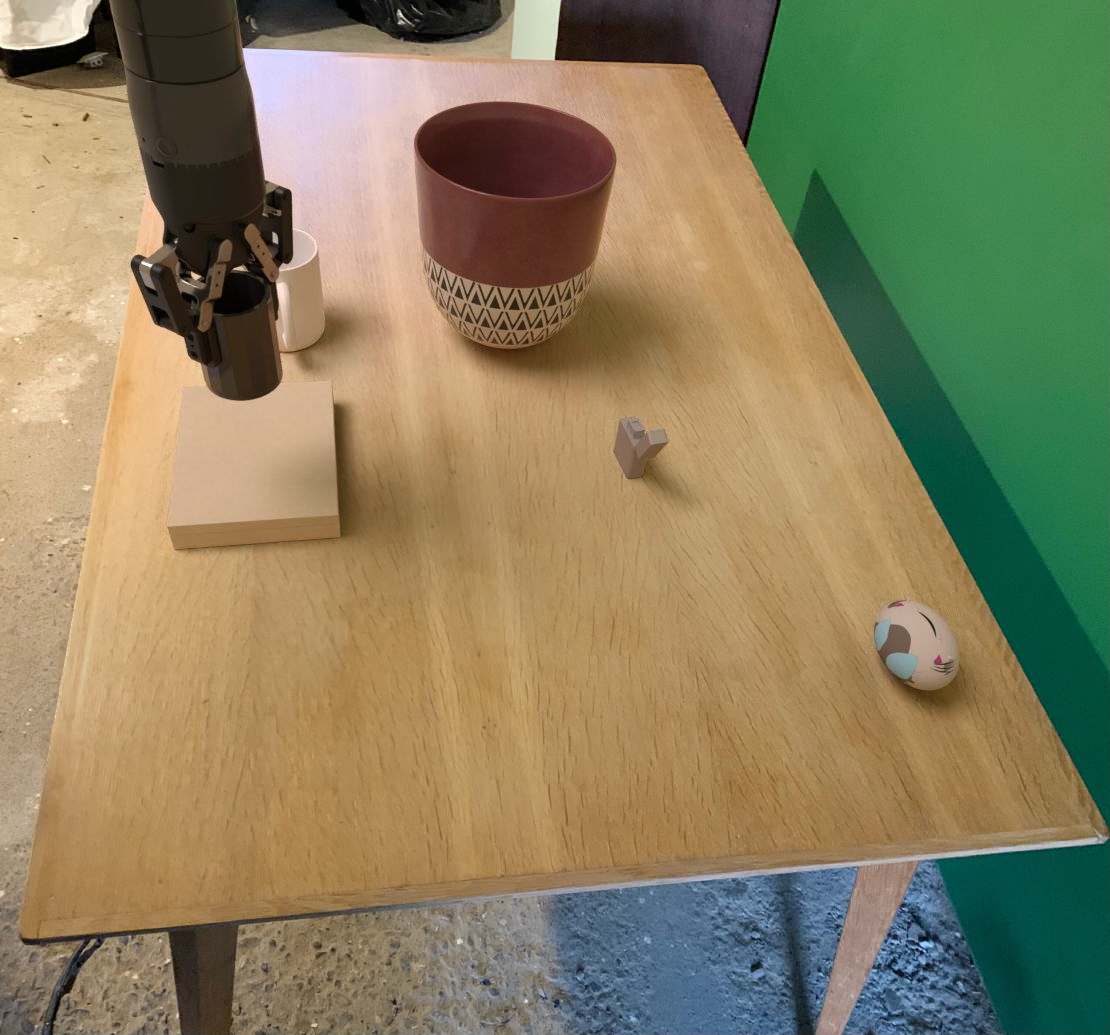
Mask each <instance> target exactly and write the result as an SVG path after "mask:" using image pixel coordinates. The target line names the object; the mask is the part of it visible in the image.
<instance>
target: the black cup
mask: <svg viewBox="0 0 1110 1035" xmlns="http://www.w3.org/2000/svg"><path fill="white" fill-rule="evenodd" d="M196 280H197V281H199V282H201V283H203V284H206V278H204V277H202V276H200V277H198V278H197V279H196ZM197 303H198V300H197V298H196V297H195V296H193V297H192V304H191V308H193V309H195V310H196V309H197ZM211 325H214V328H215V332H216V337H217V342H218V347H219V352H220V357H221V364H219V365H218V366H217V367H215V368H214V369H212V368H209V367H207V366H205V365H203V364H201V363H200V367H201V370H202V375H203V380H204V382H205V386H207V387H208V389H209V390H210V391H211V392H212V393H214V394H215V395H217V396H219V397H221V398H224V399H227V400H233V401H248V400H254V399H258V398H261V397H263V396H265V395H267V394H269V393H271V392H272V391H274V390H275V389H276V388H277V387H278V386H279V384H280V383H282V380H283V378H284V377H283V374H284V373H283V364H282V357H281V352H280V350H279V343H278V336H277V329H276V322H275V315H274V308H273V302H272V295H271V289H270V285H269V284H268V283H267V282H266V281H265V280H264V279H263V278H262V277H261V276H258V275H256V274H254V273H251V272H248V271H241V270H236V269H233V270H232V271H231V272H230V273H229V274H228V275H227V276H226V277H225V278H224V284H223V290H222V296H221V298H220V299H219V300H216V301H215V303H214V309H213V316H212V322H211Z"/></svg>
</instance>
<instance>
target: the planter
mask: <svg viewBox="0 0 1110 1035" xmlns="http://www.w3.org/2000/svg"><path fill="white" fill-rule="evenodd" d="M413 156H414V157H413V158H414V176H415V186H416V199H417V217H418V229H419V231H418V232H419V242H420V253H421V254H420V255H421V264H422V271H423V275H424V279H425V283H426V286H427V289H428V292H429V294H430V298H431V299H432V301H433V303H434V305H435V308H436V309H437V310H438V312H439V314H440V315H441V316H442V317H443V318H444V320H446V322H447V323H448V324H449V325H450V326H451V327H452V328H454V329H455V330H456V331H457V332H458V333H460V334H461V335H463V336H464V337H466V338H468V339H469V340H471V341H473V342H476V343H478V344H481V345H483V346H486V347H490V348H494V349H502V350H515V349H523V348H527V347H532V346H534V345H537V344H539V343H543V342H544V341H546V340H548V339H550V338H551V337H553V336H555V335H556V334H558V333H559V332H560V331H562V330H563V329H564V328H565V327H566V326H567V325H569V323H570V322H571V321H572V320H573V318H575V316H576V314H577V313H578V311H579V310H580V308H581V306H582V304H583V302H584V300H585V299H586V296H587V293H588V291H589V289H590V286H591V283H592V280H593V276H594V271H595V268H596V262H597V258H598V253H599V250H600V245H601V240H602V236H603V230H604V225H605V220H606V217H607V212H608V206H609V202H610V198H611V193H612V189H613V184H614V178H615V173H616V167H617V159H618V158H617V153H616V150H615V147H614V145H613V143H612V142H611V140H610V139H609V138H608V137H607V136H606V135H605V134H604V133H603V132H602V131H601V130H600V129H599V128H597V127H595V126H594V125H593V124H591V123H589V122H587V121H586V120H584V119H582V118H580V117H578V116H576V115H573V114H570V113H568V112H565V111H562V110H559V109H557V108H553V107H548V106H545V105H540V104H534V103H528V102H519V101H503V100H501V101H479V102H472V103H465V104H461V105H457V106H453V107H450V108H447V109H445V110H442V111H440V112H438V113H436V114H433V115H432V116H431V117H429V118H428V119H427V120H425V121H424V122H423V123H422V124H421V125H420V126H419V128H418V129H417V130H416V133H415V135H414V139H413Z"/></svg>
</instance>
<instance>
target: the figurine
mask: <svg viewBox="0 0 1110 1035" xmlns="http://www.w3.org/2000/svg"><path fill="white" fill-rule="evenodd" d="M875 618H876V619H875V622H874V627H873V639H874V645H875V649H876V651H877V653H878V656H879V659H881V661H882V663H883V664H884V666H885V667H886V669H887V670H888V672H889V673H890V675H893V676H894V677H895V678H896V679H898V680H899V681H900V682H902V683H903V684H905V685H907V686H909V687H911V688H914V689H917V690H921V691H935V690H936V691H937V690H940V689H942V688H945V687H946V686H947V685H950V683H951V682H952V681H953V680H954V679H955V677H956V675H957V673H958V671H959V669H960V661H961V653H960V647H959V644H958V641H957V638H956V635H955V633H954V632H953V629H952V628H951V627H950V624H948V623H947V621H946V620H945V619H944V618H943V617H942V616H941V615H940V614H939V612H937V611H936V610H935V609H933V608H931V607H929V606H928V605H926V604H925V603H921V602H919V601H916V600H910V597H909V596H907V597H906V599H901V600H900V599H899V600H895V601H892V602H890V603H888V604H886V606H884V607H883V608H882V609H881V610H880V612H879V613H878V614H877V616H876V617H875Z"/></svg>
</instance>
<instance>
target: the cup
mask: <svg viewBox="0 0 1110 1035" xmlns="http://www.w3.org/2000/svg"><path fill="white" fill-rule="evenodd" d="M273 242H274V243H277V244H278V237H277V235H276V233H274V232H273ZM235 270H241V271H245V270H244V268H243V267H242V266H240V267H237V268H235ZM322 282H323V281H322V274H321V262H320V252H319V244H318V242H317V241H316V239H315V238H314V237H313V236H312V235H311V234H309V233H308V232H306V231H304V230H302V229H299V228H296V227H293V259H292V261H291V262H290V263H289V264H284V263H283V264H282V265H281V266H280V267H279V277H278V279H277V280H276V286H277V293H278V294H277V295H278V301H279V309H278V320H277V321H275V322H276V329H277V336H278V343H279V350H280V353H281V352H282V353H285V352H286V353H287V352H296V351H301V350H305V349H306V348H308V347H311V346H312V345H314V344H315V343H317V342H318V341H319V340H320V339H321V337H322V336H323V334H324V333H325V332H324V331H325V328H326V314H325V304H324V303H325V302H324V292H323V283H322Z"/></svg>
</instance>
